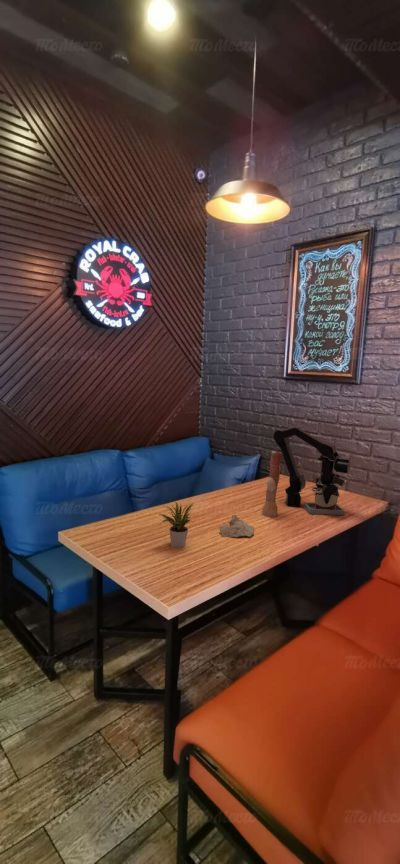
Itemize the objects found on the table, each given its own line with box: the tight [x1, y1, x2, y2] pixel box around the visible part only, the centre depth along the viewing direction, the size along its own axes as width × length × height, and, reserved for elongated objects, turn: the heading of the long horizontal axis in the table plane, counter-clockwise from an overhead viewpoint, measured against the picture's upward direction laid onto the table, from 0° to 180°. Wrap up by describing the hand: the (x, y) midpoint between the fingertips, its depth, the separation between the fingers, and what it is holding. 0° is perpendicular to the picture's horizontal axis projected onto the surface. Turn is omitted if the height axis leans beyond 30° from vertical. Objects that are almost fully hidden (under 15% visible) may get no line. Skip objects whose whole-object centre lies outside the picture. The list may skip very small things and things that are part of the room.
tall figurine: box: [261, 450, 282, 518], centre depth 198 cm, size 11×7×30 cm
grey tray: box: [303, 502, 345, 517], centre depth 207 cm, size 17×11×2 cm, turn 91°
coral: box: [219, 514, 255, 539], centre depth 175 cm, size 18×16×5 cm
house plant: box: [158, 500, 196, 549], centre depth 159 cm, size 14×14×16 cm
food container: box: [313, 488, 340, 510], centre depth 208 cm, size 12×6×10 cm, turn 91°
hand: (324, 501), depth 207 cm, fingers open, 7 cm apart
